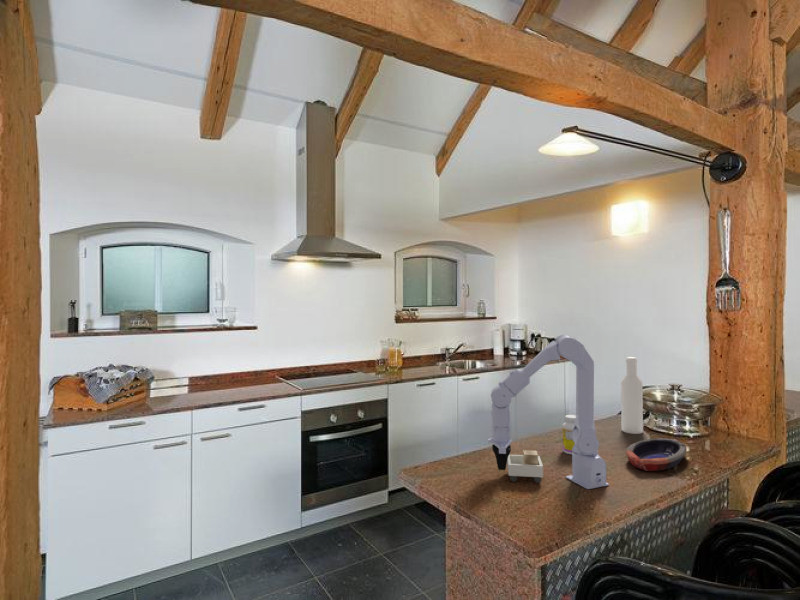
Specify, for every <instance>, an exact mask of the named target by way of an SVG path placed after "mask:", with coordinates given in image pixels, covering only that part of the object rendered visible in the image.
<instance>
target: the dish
mask: <svg viewBox="0 0 800 600" xmlns="http://www.w3.org/2000/svg"><path fill="white" fill-rule="evenodd" d="M686 452H687V448H686V444H685V443H682V442H681V441H678V440H676V439H671V438H649V439H648V438H647V439H642V440H640V441H637V442H634V443H632V444H630V445H628V447H627V448H626V449H625V456H626V457H627V460H628V461H629V463H630V464H632V465H633V467H635V468H638V469H640V470H643V471H645V472H656V471H657V472H658V471H664V470H668V469H672V468H673V467H675V466H677V465H678V464H680V463H681V461H682V460H683V458H684V457H685V454H686Z"/></svg>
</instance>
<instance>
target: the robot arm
mask: <svg viewBox="0 0 800 600" xmlns="http://www.w3.org/2000/svg"><path fill="white" fill-rule="evenodd" d="M560 356H561V357H562V358H564V359H566V360H568V361H570V362H571V363H572V364H573V365H574V366H575V367H576V369H575V370H576V371H575V373H576V375H575V376H576V377H575V379H576V380H575V381H576V382H575V383H576V384H575V387H576V389H575V400H576V401H575V415H576V419H575V422H574V428H573V430H572V432H571V438H572V440H573V442H574V443H575V444H574V446H573V448H572V455H571V460H572V462H571V465H572V474H570V475H566V476H565V478H566V479H567V480H570V481H571V482H573V483H575V484H577V485H579V486H580V487H583V488H584V489H586V490H591V489H596V488H601V487H606V486H609V485H610V483H608V482H607V463H606V461H605V459H603V458H602V457H601V456H600V455H599V451H598V450H599V447H600V442H599V439H598V438H597V433H596V432H597V431H596V425H595V422H594V421H595V420H594V419H595V418H594V417H595V416H594V409H595V408H594V407H595V406H594V405H595V404H594V402H595V400H594V399H595V390H594V389H595V363H594V362H595V361H594V360H593V358H592V356H591V354H589V352H588V351H587V349H586V348H585V345H584V344H583V343H581V342H580V341H578V340H577V339H576V338H574V337H571V336H570V335H567V334H561V335H559V336H557V337H556V338H555V339H554V340H552V341H551V342H549V343H548V344H547V345H545V347H544V348H542V350H541V351H540V352H538V353H537V354H536V355H535V356H534V357H533V359H531V360H530V362H528V363H527V364H526V365H525V366H524V367H523V368H522V369H521V368H520V369H518V368H517V369H515V370H511V371H510V372H509V375H508V376H506V378H505V379H504V380H503V381H499V383H498V385H497V386H495V387H494V388H492V390H491V393H490V398H491V402H492V403H491V408H492V409H491V437H490V438H488V439H487V441H488V443H492V445H491V448H492V451H493V453H494V455H495V459H496V465H497V469H498V470H499V471H506V469H507V459H508V456H509V455H511V454H510V453H511V451H512V448H511V444H512V438H511V437H512V436H511V434H512V432H511V411H510V404H511V403H512V398H515V397H517V395H518V394H520V393H521V392H522V391H523V390H525V388H526V387H527V386H528V385H530V382H531V377H532V376H533V375H534V374H536V373H537V372H538V371H539V370H541V369H542V368H543V367H544V366H545V365H547V364H548V363H549V362H551V361H557V360H561V359H562V358H561V357H560Z"/></svg>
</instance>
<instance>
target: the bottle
mask: <svg viewBox="0 0 800 600" xmlns="http://www.w3.org/2000/svg"><path fill="white" fill-rule="evenodd" d="M625 361H626V362H625V363H626V375H624V376H623V377H622V379H621V381H620V386H621V387H620V391H621V392H620V396H621V397H620V403H621V405H620V406H621V407H620V409H621V411H620V412H621V414H620V415H621V423H620V425H621V426H620V427H621V431H622V432H624V433H626V434H630V435H640V434H642V433H643V432H644V417H643V415H644V412H643V410H644V407H643V406H644V405H643V402H644V400H643V399H644V398H643V394H644V393H643V381H642V378H641V377H640V376H638V374H637V369H638V368H637V363H638V359H637V357H636V356H635V357H634V356H627V357H626V360H625Z"/></svg>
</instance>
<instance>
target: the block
mask: <svg viewBox="0 0 800 600" xmlns="http://www.w3.org/2000/svg"><path fill="white" fill-rule="evenodd" d="M522 452H523V453H522V455H523V464H525V465H538V456H539V453H538V451H537V450H527V449H525V450H524V449H523V450H522Z"/></svg>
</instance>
